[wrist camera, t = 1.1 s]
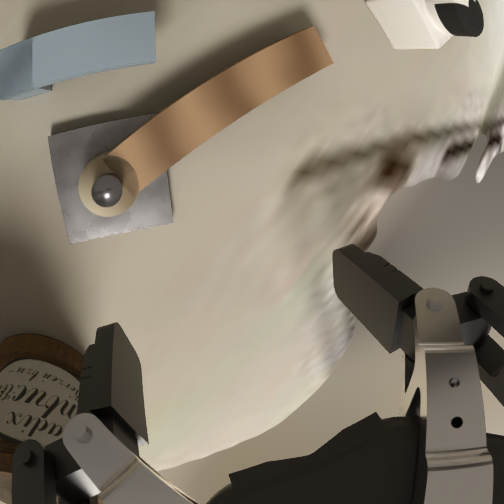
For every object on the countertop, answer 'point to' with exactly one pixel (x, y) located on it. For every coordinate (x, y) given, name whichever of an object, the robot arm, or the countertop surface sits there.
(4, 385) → the wooden container
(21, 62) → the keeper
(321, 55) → the link
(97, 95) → the countertop surface
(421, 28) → the medicine bottle
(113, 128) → the pivot base
